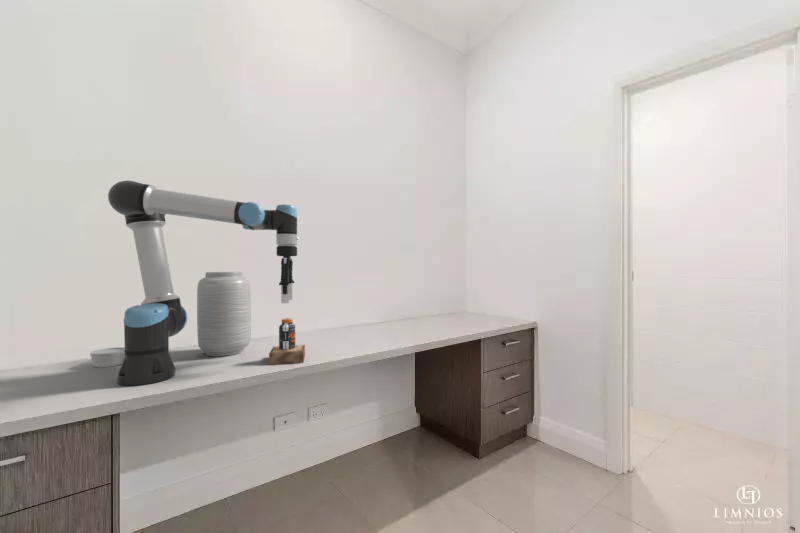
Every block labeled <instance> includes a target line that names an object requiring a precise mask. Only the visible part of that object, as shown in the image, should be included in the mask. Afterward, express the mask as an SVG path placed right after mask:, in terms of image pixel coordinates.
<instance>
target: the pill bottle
mask: <svg viewBox="0 0 800 533" xmlns="http://www.w3.org/2000/svg"><path fill="white" fill-rule="evenodd" d="M295 345H296V325H295V324H294V323H293V318H288V317H287V318H281V324H280V325H279V326H278V346H279V349H281V350H289V349H294V348H295Z"/></svg>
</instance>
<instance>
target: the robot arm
mask: <svg viewBox="0 0 800 533" xmlns="http://www.w3.org/2000/svg"><path fill="white" fill-rule="evenodd" d="M107 200H108V203H109V205H110V206H111V207H112V209H113V210H114V211H116V212H117V213H119V214H121V215H123V216H124V218H125V219H124V220H125V226H126V227H128V228H129V229H130V230H132V233H133V239H134V242H135V243H134V244H135V249H136V254H137V258H138V259H137V260H138V265H139V271H140V276H141V282H142V286H143V291H144V299H143V301H141V303H140V304H137V305H133V306H130V307H129V308H127V309H126V310H125V312H124V317H123V327H124V329H123V331H124V335H123V336H124V348H125V358H124V360H123V363H122V364H121V365H120V366H121V367H120V369H119V371H118V375H117V384H119V385H121V386H141V385H142V386H144V385H149V384H155V383H159V382H163V381H166V380H169V379H171V378H173V377H175V376H176V367H175V364H174V362H173V359H172V357H171V354H170V350H169V349H170V348H169V343H170V342H169V341H170V340H169V339H170V337H173V336H176V335H177V334H178V333H180V332H181V331H183V329H184V328H185V327H186V325H187V322H188V313H187V311H186V309H185V308H184V307H183V306H182V304H181V302H182V301H181V298H180V296H178V295H177V294H175V292H174V286H173V283H172V282H173V281H172V276H171V269H170V265H169V260H168V254H167V248H166V244H165V238H164V233H163V228H164V226H165V225H166V224H167V220H166V215H170V216H177V217H186V218H192V219H200V220H208V221H215V222H222V223H229V224H237V225H241V226H242V228H243V229H244V230H249V231H250V230H251V231H257V230H258V231H259V230H260V231H276V236H275V238H276V240H275V241H276V242H275V243H276V245H277V246H276V256H277V257H281V261H280V265H281V266H280V271H281V272H280V282H279V283H278V285H279V286H281V287H280V295H281V296H280V304H290V301H293V284H295V280H294V279H293V264H294V262H293V259H292V257H297V256H298V247H297V244H298V240H299V237H298V212H297V211H298V210H297V207H296V206H295V205H292V204H285V203H283V204H277V205H276V208H275V209H272V210H271V209H270V210H269V209H264V208H263V207H262V205H260V204H258V203H256V202H252V201H248V202H243V201H237V200H230V199H224V198H223V199H222V198H217V197H210V196H205V195H204V196H203V195H197V194H191V193H185V192H184V193H183V192H177V191H170V190H164V189H159V188H157V187H156V186H155V185H152V184H147V183H142V182H139V181H134V180H121V181H118V182H116V183H115V184H113V185H112V186H111V187H110V188H109V191H108V193H107Z"/></svg>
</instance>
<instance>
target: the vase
mask: <svg viewBox="0 0 800 533" xmlns="http://www.w3.org/2000/svg"><path fill="white" fill-rule="evenodd" d="M204 274H205V276H204V277H203V278H200V279H199V280H198V283H197V287H196V288H197V289H196V307H197V308H196V321H197V322H196V324H197V325H196V327H197V329H196V330H197V331H196V332H197V343H198V344H197V345H198V347H199V349H200V350H201V351H203V352H204V353H205V355H207V356H209V357H226V356H233V355H236V354H237V355H238V354H240V353H241V354H242V352H244V351H245V350H244V349H246V347H247V346H248V345H249V344H250V342H251V335H252V300H251V294H252V292H251V284H250V280H249V279H248V278H247V277H244V276H243V275H244V274H243V272H242V271H207V272H205V273H204Z"/></svg>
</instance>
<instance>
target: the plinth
mask: <svg viewBox="0 0 800 533" xmlns="http://www.w3.org/2000/svg"><path fill="white" fill-rule="evenodd" d="M305 356H306V345H305V344H299V345H298V344H297V345H296V344H295V348H294V349H289V350H281V349H279V345H278V346H277V345H276V346H273V347H272V348H271V350H270V351H269V354H268V364H269V365H284V364H286V365H287V364H302V363H303V364H304V361H305Z"/></svg>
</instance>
